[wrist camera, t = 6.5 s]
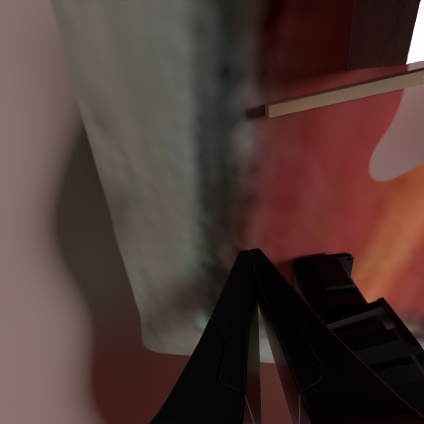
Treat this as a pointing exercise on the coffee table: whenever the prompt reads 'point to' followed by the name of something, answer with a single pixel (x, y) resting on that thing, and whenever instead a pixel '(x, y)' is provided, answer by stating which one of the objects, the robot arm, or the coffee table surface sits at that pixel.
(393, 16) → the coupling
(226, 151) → the coffee table surface
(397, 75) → the cradle rails
